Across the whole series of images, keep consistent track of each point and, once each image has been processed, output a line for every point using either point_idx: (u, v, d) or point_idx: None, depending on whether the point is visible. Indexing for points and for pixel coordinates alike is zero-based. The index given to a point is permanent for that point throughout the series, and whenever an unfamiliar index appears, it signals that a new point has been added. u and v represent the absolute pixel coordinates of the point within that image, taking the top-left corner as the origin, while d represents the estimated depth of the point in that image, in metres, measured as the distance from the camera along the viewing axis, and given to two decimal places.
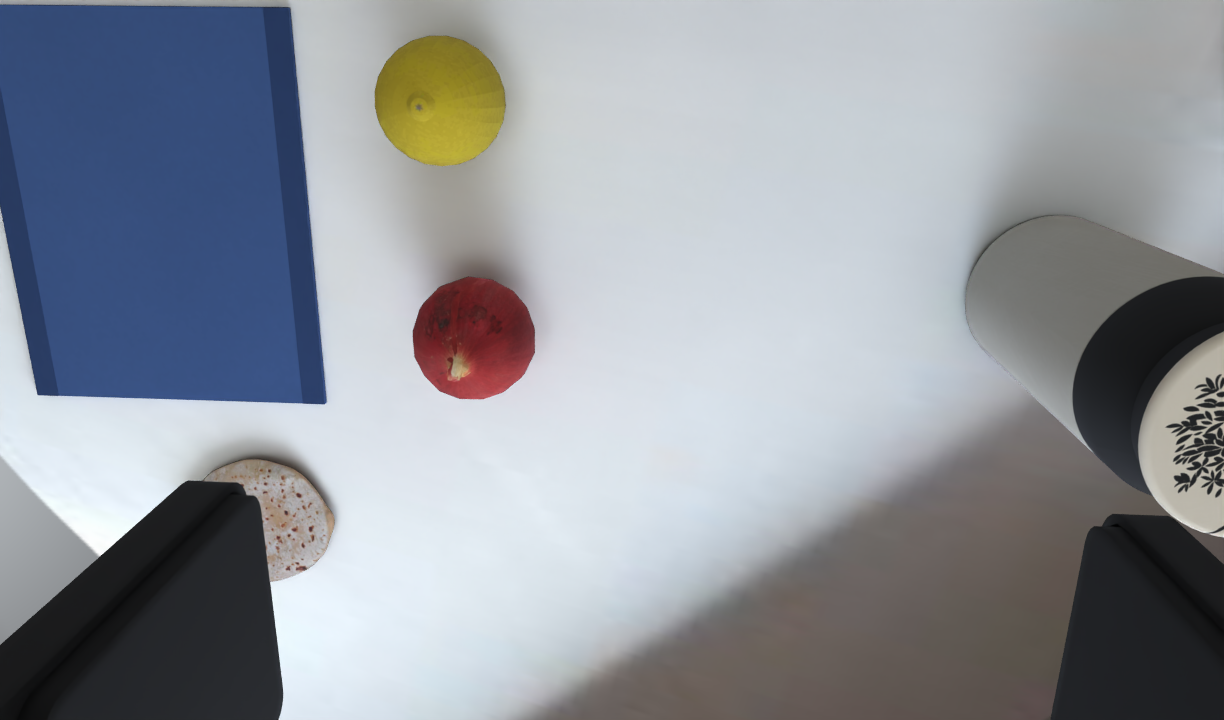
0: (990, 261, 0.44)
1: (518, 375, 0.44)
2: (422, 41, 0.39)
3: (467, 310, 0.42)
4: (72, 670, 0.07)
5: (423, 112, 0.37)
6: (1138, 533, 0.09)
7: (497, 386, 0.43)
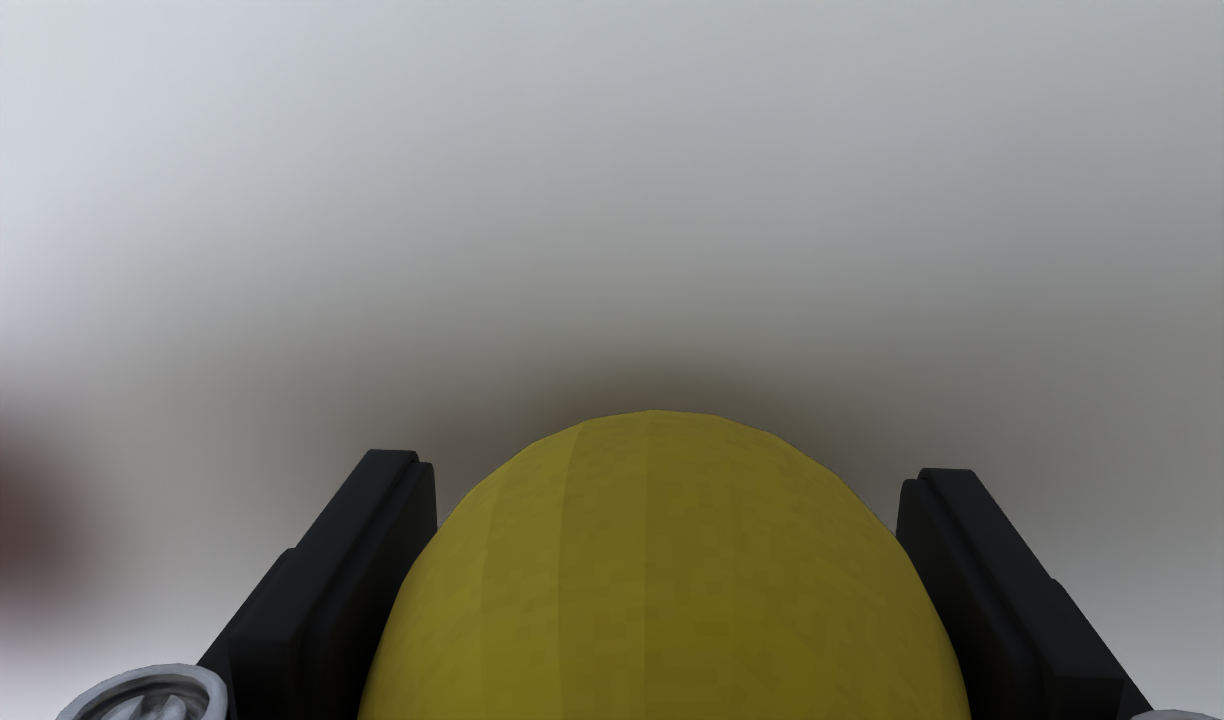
0: None
1: None
2: None
3: None
4: (333, 607, 0.08)
5: None
6: (936, 483, 0.10)
7: None
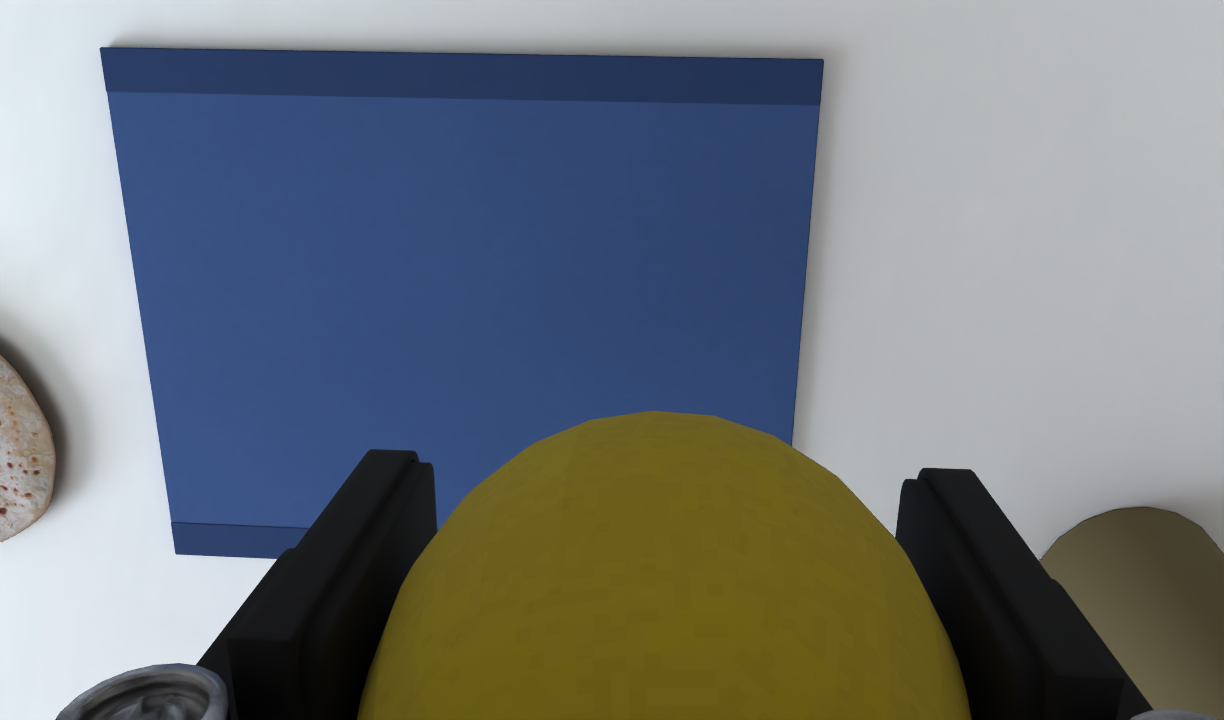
0: None
1: None
2: None
3: None
4: (333, 607, 0.08)
5: None
6: (936, 483, 0.10)
7: None
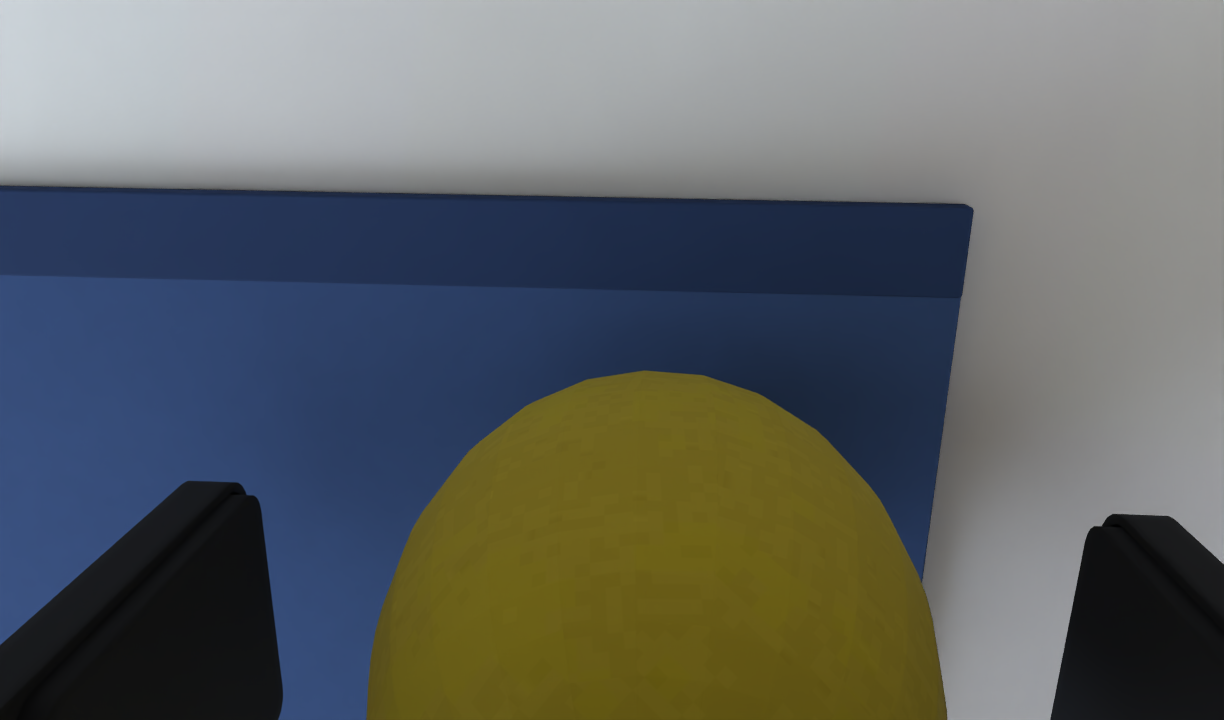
0: None
1: None
2: None
3: None
4: (72, 670, 0.07)
5: None
6: (1138, 533, 0.09)
7: None
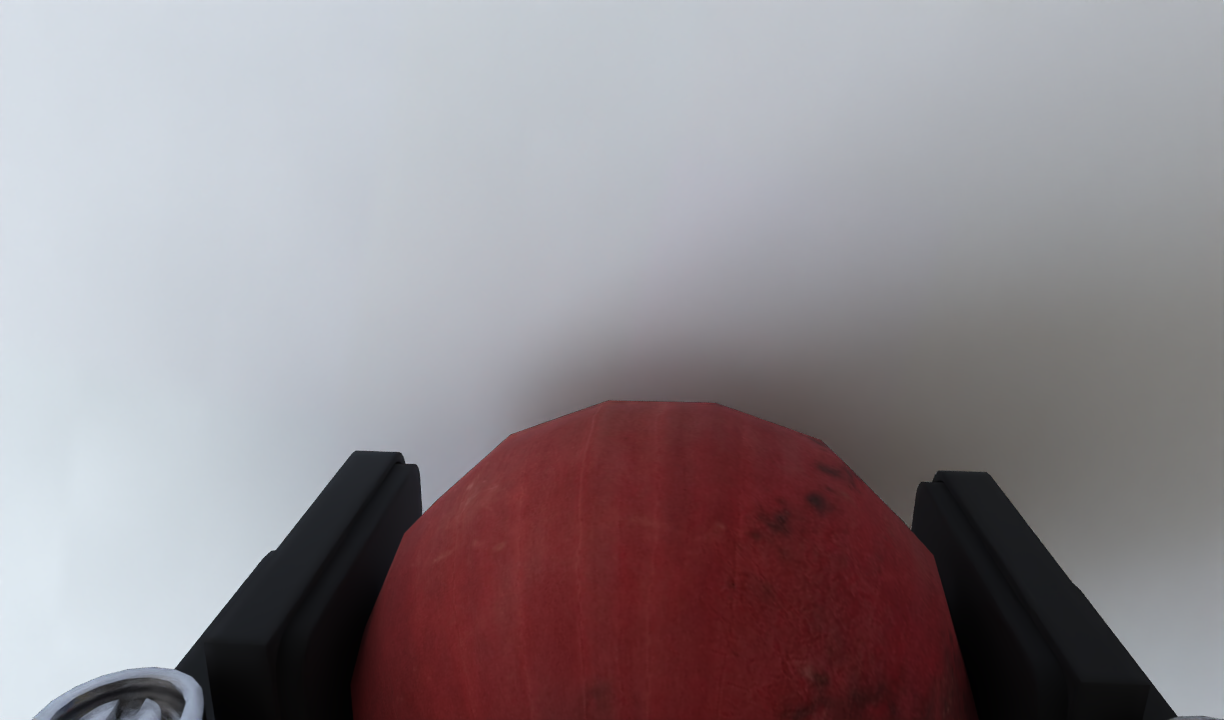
0: None
1: None
2: None
3: None
4: (312, 610, 0.08)
5: None
6: (953, 486, 0.10)
7: None
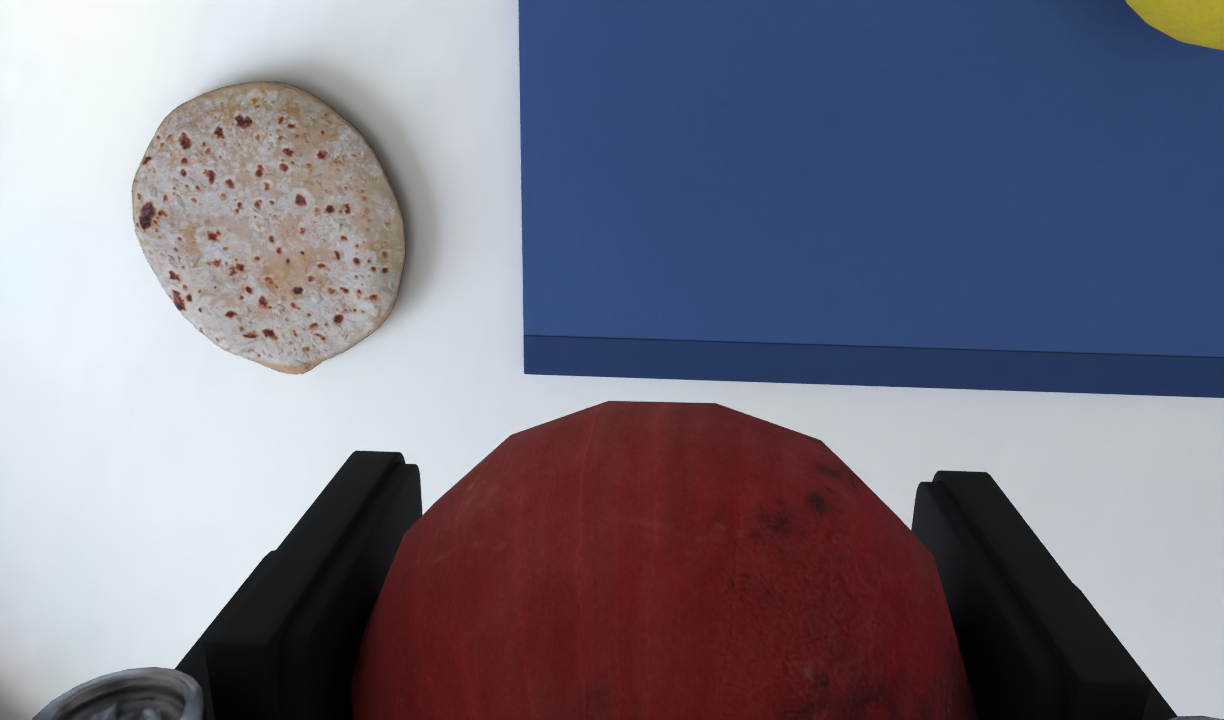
0: None
1: None
2: None
3: None
4: (312, 610, 0.08)
5: None
6: (952, 486, 0.10)
7: None
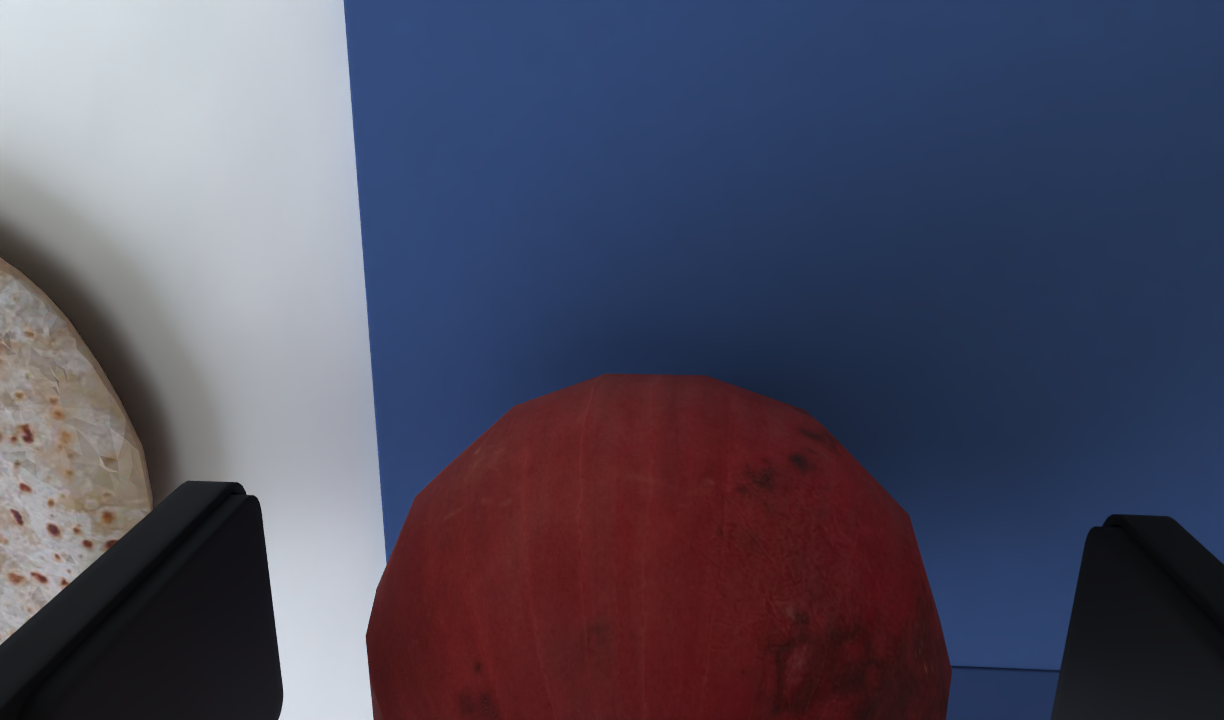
0: None
1: None
2: None
3: None
4: (72, 670, 0.07)
5: None
6: (1138, 533, 0.09)
7: None
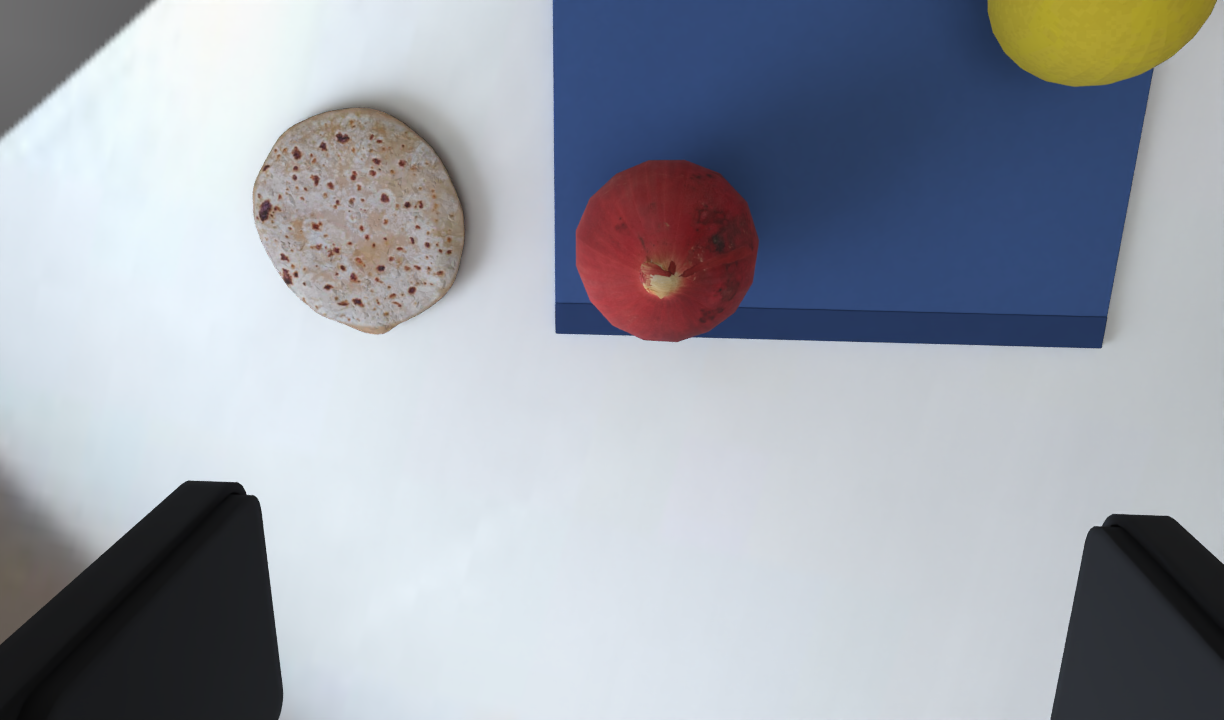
0: None
1: (619, 327, 0.29)
2: None
3: (734, 275, 0.28)
4: (72, 670, 0.07)
5: None
6: (1138, 533, 0.09)
7: (609, 308, 0.28)
